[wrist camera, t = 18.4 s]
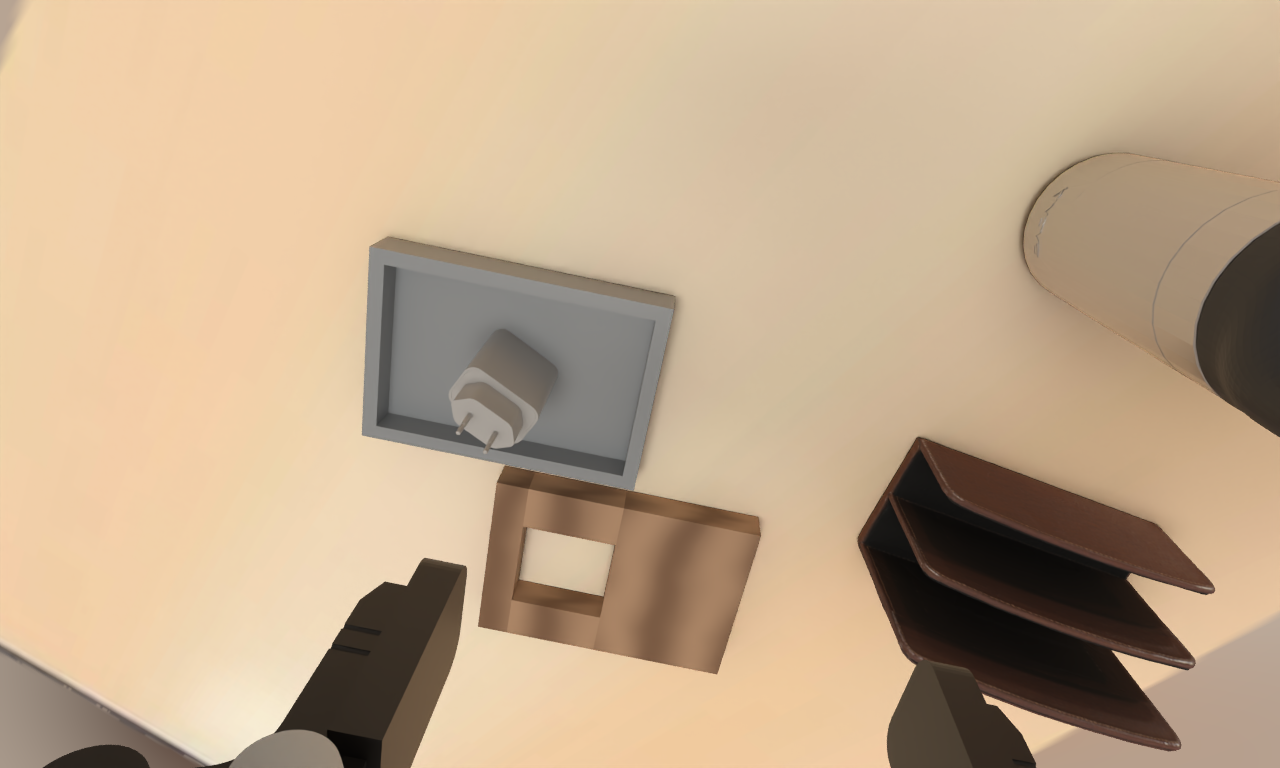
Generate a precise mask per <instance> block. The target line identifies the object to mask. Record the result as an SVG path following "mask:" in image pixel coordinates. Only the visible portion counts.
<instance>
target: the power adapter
mask: <svg viewBox="0 0 1280 768" xmlns="http://www.w3.org/2000/svg"><path fill="white" fill-rule="evenodd" d="M557 375H558V370H557V368H556V367H555V365H553V364H552V363H551V362H550V361H548V360H547V359H546V358H544V357H543V356H542V355H540V354H539V353H538V352H536V351H535V350H534V349H532V348H531V347H530V346H528V345H527V344H526V343H524V342H523V341H522V340H520V339H519V338H518V337H516V336H515V335H514V334H512V333H511V332H510V331H508V330H506V329H498V330H496V331H495V332H494V333H493V334H492V335H491V337H490V338H489V339H488V341H487V342H486V343H485V345H484V346H483V347H482V348H481V350H480V351H479V352H478V354H477V355H476V356H475V358H474V359H473V360H472V362H471V363H470V364H469V365H468V367H467V368H466V369H465V371H464V372H463V373H462V375H461V376H460V377H459V379H458V380H457V381H456V382H455V384H454V385H453V386H452V388H451V389H450V391H449V399H450V401H451V402H452V403H451V406H452V413H453V418H454V421H455V422H456V423H457V424H458V425H459V428H458V430H457V431H456V434H457V435H460V434H461V432H462V431H463V429H465V430H466V431H467V432H469V433H470V434H472V435H473V436H475V437H476V438H477V439H479V440H480V441H482V442H483V443H485V444H486V447H485V448H484V450H483V453H484V454H487V453H488V451H489V449H490V447H491V448H495V449H497V448H505V447H511V446H513V445H514V444H515V443H518V442H520V441H521V440H522V439H523V438H524V437H525V436H526V434H527V433H528V432H529V431H530V430H531V428H532V427H533V426H534V425H535V424H536V422H537V420H538V418H539V416H540V414H541V411H542V409H543V407H544V405H545V402H546V400H547V398H548V396H549V394H550V391H551V389H552V387H553V385H554V382H555V380H556V378H557Z"/></svg>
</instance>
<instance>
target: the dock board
mask: <svg viewBox="0 0 1280 768" xmlns="http://www.w3.org/2000/svg"><path fill="white" fill-rule="evenodd" d="M527 527H528V528H533V529H537V530H542V531H547V532H552V533H557V534H562V535H567V536H572V537H577V538H582V539H587V540H592V541H597V542H602V543H607V544H612V545H615V547H614V552H613V556H612V561H611V565H610V570H609V575H608V579H607V584H606V588H605V593H604V597H601V596H596V595H591V594H586V593H581V592H576V591H571V590H566V589H561V588H556V587H551V586H547V585H542V584H537V583H532V582H527V581H522V580H519V575H520V568H521V562H522V556H523V549H524V543H525V536H526V530H527ZM760 537H761V534H760V527H759V520H758V517H755V516H750V515H745V514H740V513H735V512H730V511H725V510H720V509H715V508H710V507H705V506H701V505H696V504H691V503H686V502H681V501H676V500H671V499H666V498H661V497H656V496H651V495H646V494H641V493H637V492H632V491H627V490H622V489H617V488H612V487H607V486H602V485H597V484H592V483H587V482H582V481H578V480H573V479H568V478H563V477H558V476H553V475H548V474H543V473H538V472H533V471H528V470H523V469H518V468H514V467H509V466H505V467H504V469H503V471H502V473H501V475H500V477H499V479H498V481H497V486H496V493H495V501H494V508H493V516H492V524H491V531H490V539H489V547H488V554H487V562H486V570H485V577H484V585H483V593H482V600H481V608H480V616H479V623H478V627H483V628H488V629H493V630H498V631H503V632H508V633H513V634H518V635H523V636H528V637H533V638H538V639H543V640H548V641H553V642H558V643H563V644H568V645H573V646H578V647H583V648H588V649H593V650H598V651H603V652H608V653H613V654H618V655H623V656H628V657H633V658H638V659H643V660H648V661H653V662H658V663H663V664H668V665H673V666H678V667H683V668H688V669H693V670H698V671H703V672H708V673H713V674H717V673H718V670H719V667H720V664H721V661H722V657H723V654H724V651H725V648H726V645H727V642H728V638H729V635H730V632H731V629H732V626H733V623H734V619H735V616H736V613H737V610H738V607H739V604H740V601H741V597H742V594H743V591H744V588H745V585H746V582H747V578H748V575H749V572H750V569H751V566H752V563H753V560H754V556H755V553H756V550H757V547H758V544H759V541H760Z"/></svg>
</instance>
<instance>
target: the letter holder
mask: <svg viewBox="0 0 1280 768" xmlns="http://www.w3.org/2000/svg"><path fill="white" fill-rule="evenodd" d="M858 546H859V549H860V551H861V553H862V556H863V558H864V560H865V562H866V565H867V568H868V570H869V572H870V575H871V577H872V580H873V582H874V585H875V588H876V590H877V593H878V596H879V598H880V601H881V603H882V605H883V608H884V610H885V612H886V614H887V616H888V618H889V621H890V623H891V626H892V628H893V630H894V633H895V635H896V638H897V640H898V644H899V645H900V648H901V650H902V652H903V654H904V655H905V656H906V657H907V659H909V660H910V661H911V662H912V663H914V664H915V665H917V664H918V663H919V662H920V661H922V660H928V661H933V662H938V663H943V664H948V665H953V666H958V667H963V668H966V669H968V670H969V671H970V672H971V673H972V674H973V676H974V678H975V680H976V682H977V684H978V687H979V689H980V691H981V693H982V694H984V695H987V696H989V697H992V698H994V699H997V700H1000V701H1002V702H1005V703H1008V704H1011V705H1013V706H1016V707H1018V708H1021V709H1024V710H1027V711H1029V712H1032V713H1035V714H1038V715H1041V716H1044V717H1047V718H1050V719H1053V720H1056V721H1060V722H1063V723H1066V724H1069V725H1072V726H1076V727H1079V728H1082V729H1085V730H1089V731H1092V732H1095V733H1099V734H1103V735H1106V736H1109V737H1113V738H1116V739H1120V740H1123V741H1127V742H1130V743H1134V744H1138V745H1143V746H1147V747H1151V748H1156V749H1160V750H1165V751H1176V750H1179V749H1180V748H1181V742H1180V740H1179V738H1178V736H1177V735H1176V733H1175V732H1174V731H1173V729H1172V728H1171V727H1170V726H1169V724H1168V723H1167V722H1166V720H1165V719H1164V718H1163V717H1162V715H1161V714H1160V712H1159V711H1158V710H1157V709H1156V707H1155V706H1154V705H1153V703H1152V702H1151V701H1150V700H1149V698H1148V697H1147V696H1146V695H1145V693H1144V692H1143V691H1142V690H1141V688H1140V687H1139V686H1138V684H1137V683H1136V682H1135V680H1134V679H1133V678H1132V677H1131V675H1130V674H1129V673H1128V671H1127V670H1126V669H1125V667H1124V666H1123V665H1122V664H1121V662H1120V661H1119V660H1118V658H1117V657H1116V656H1115V654H1114V653H1113V652H1112V651H1111V650H1113V651H1117V652H1120V653H1123V654H1127V655H1130V656H1134V657H1138V658H1141V659H1145V660H1148V661H1152V662H1156V663H1160V664H1164V665H1168V666H1172V667H1176V668H1180V669H1184V670H1189V669H1190V668H1193V667H1194V666H1195V659H1194V657H1193V656H1192V655H1191V654H1190V652H1189V651H1188V650H1187V649H1186V648H1185V647H1184V646H1183V644H1182V643H1181V642H1180V641H1179V640H1178V638H1177V637H1176V636H1175V635H1174V634H1173V633H1172V632H1171V631H1170V629H1169V628H1168V627H1167V626H1166V625H1165V624H1164V623H1163V622H1162V621H1161V620H1160V619H1159V617H1158V616H1157V614H1156V613H1155V612H1154V611H1153V610H1152V609H1151V608H1150V607H1149V606H1148V604H1147V603H1146V602H1145V601H1144V599H1143V598H1142V597H1141V596H1140V595H1139V594H1138V593H1137V591H1136V590H1135V589H1134V588H1133V587H1132V585H1131V584H1130V583H1129V582H1128V581H1127V577H1128V576H1129V575H1130V573H1133V574H1136V575H1139V576H1142V577H1145V578H1149V579H1152V580H1155V581H1159V582H1162V583H1166V584H1170V585H1173V586H1177V587H1180V588H1183V589H1186V590H1190V591H1193V592H1197V593H1200V594H1205V595H1207V594H1212V593H1214V592H1215V588H1214V586H1213V584H1212V583H1211V582H1210V580H1209V579H1208V578H1207V577H1206V576H1205V575H1204V574H1203V573H1202V571H1200V570H1199V569H1198V568H1197V567H1196V565H1195V564H1194V563H1193V562H1192V561H1191V560H1190V559H1189V558H1188V557H1187V556H1186V555H1185V554H1184V553H1183V552H1182V551H1181V549H1180V548H1179V547H1178V546H1177V545H1176V544H1175V543H1174V542H1173V541H1172V540H1171V539H1170V538H1169V536H1168V535H1167V534H1166V533H1164V532H1163V531H1162V529H1161V528H1160V527H1158V526H1157V525H1156V524H1154V523H1151V522H1148V521H1145V520H1143V519H1140V518H1138V517H1134V516H1132V515H1130V514H1127V513H1124V512H1122V511H1118V510H1116V509H1113V508H1110V507H1107V506H1104V505H1102V504H1099V503H1097V502H1094V501H1092V500H1089V499H1086V498H1083V497H1080V496H1078V495H1075V494H1072V493H1070V492H1067V491H1064V490H1062V489H1059V488H1056V487H1054V486H1051V485H1048V484H1046V483H1043V482H1040V481H1037V480H1035V479H1032V478H1029V477H1027V476H1024V475H1022V474H1019V473H1016V472H1013V471H1010V470H1008V469H1004V468H1002V467H999V466H997V465H995V464H992V463H988V462H985V461H982V460H980V459H978V458H975V457H972V456H969V455H966V454H964V453H961V452H958V451H955V450H952V449H950V448H947V447H944V446H941V445H939V444H936V443H934V442H931V441H928V440H926V439H922V438H917V439H916V441H915V443H914V444H913V446H912V448H911V449H910V451H909V453H908V454H907V456H906V458H905V459H904V461H903V463H902V464H901V466H900V468H899V469H898V471H897V473H896V474H895V476H894V478H893V479H892V481H891V483H890V484H889V486H888V488H887V489H886V491H885V493H884V494H883V496H882V498H881V499H880V501H879V502H878V504H877V506H876V507H875V509H874V511H873V512H872V514H871V516H870V517H869V519H868V521H867V522H866V524H865V526H864V528H863V529H862V531H861V533H860V535H859V537H858Z"/></svg>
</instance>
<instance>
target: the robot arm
mask: <svg viewBox="0 0 1280 768" xmlns="http://www.w3.org/2000/svg"><path fill="white" fill-rule="evenodd" d="M1023 247H1024V254H1025V260H1026V262H1027V265H1028V267H1029V270H1030V272H1031V274H1032V275H1033V276H1034V278H1035V279H1036V280H1037V281H1038V283H1039V284H1040V285H1042V286H1043V287H1044V288H1045V289H1047V290H1048V291H1049V292H1051V293H1052V294H1054V295H1055V296H1057V297H1059V298H1060V299H1062V300H1064V301H1065V302H1067V303H1068V304H1070V305H1072V306H1073V307H1075V308H1076V309H1077V310H1079V311H1081V312H1082V313H1084V314H1085V315H1087V316H1089V317H1090V318H1092V319H1094V320H1095V321H1097V322H1098V323H1100V324H1102V325H1103V326H1105V327H1107V328H1108V329H1110V330H1111V331H1113V332H1115V333H1116V334H1118V335H1119V336H1121V337H1123V338H1124V339H1126V340H1128V341H1129V342H1131V343H1132V344H1134V345H1136V346H1137V347H1139V348H1141V349H1142V350H1144V351H1145V352H1147V353H1149V354H1150V355H1152V356H1153V357H1155V358H1157V359H1158V360H1160V361H1162V362H1163V363H1165V364H1166V365H1168V366H1170V367H1171V368H1173V369H1175V370H1176V371H1178V372H1179V373H1181V374H1183V375H1184V376H1186V377H1188V378H1189V379H1191V380H1193V381H1195V382H1196V383H1198V384H1199V385H1201V386H1203V387H1204V388H1206V389H1207V390H1209V391H1211V392H1212V393H1214V394H1215V395H1217V396H1219V397H1220V398H1222V399H1223V400H1225V401H1226V402H1228V403H1229V404H1231V405H1232V406H1234V407H1236V408H1237V409H1239V410H1240V411H1242V412H1244V413H1245V414H1246V415H1247V416H1249V417H1250V418H1251V419H1253V420H1254V421H1255V422H1257V423H1258V424H1260V425H1261V426H1263V427H1264V428H1266V429H1268V430H1269V431H1271V432H1272V433H1274V434H1275V435H1277V436H1278V437H1280V182H1276V181H1271V180H1265V179H1260V178H1255V177H1250V176H1244V175H1239V174H1234V173H1229V172H1223V171H1218V170H1213V169H1208V168H1202V167H1197V166H1192V165H1187V164H1181V163H1177V162H1172V161H1167V160H1162V159H1156V158H1151V157H1145V156H1140V155H1135V154H1129V153H1110V154H1105V155H1101V156H1096V157H1092V158H1090V159H1088V160H1085V161H1083V162H1080V163H1078V164H1076V165H1074V166H1073V167H1071V168H1070V169H1068V170H1066V171H1065V172H1063V173H1062V174H1061V175H1059V176H1058V177H1057V178H1056V179H1055V180H1054V181H1053V182H1052V183H1051V184H1049V185H1048V187H1047V188H1046V189H1045V190H1044V192H1043V193H1042V194H1041V195H1040V197H1039V198H1038V199H1037V201H1036V203H1035V205H1034V207H1033V209H1032V210H1031V212H1030V214H1029V217H1028V221H1027V224H1026V227H1025V231H1024V243H1023ZM466 577H467V567H466V566H463V565H458V564H453V563H448V562H443V561H438V560H433V559H428V558H424V559H422V561H421V562H420V564H419V565H418V567H417V569H416V571H415V573H414V574H413V576H412V578H411V580H410V582H409V583H408V585H407V586H404V585H399V584H394V583H389V582H384V583H383V584H381V585H380V586H378V587H377V588H376V589H374V590H373V591H371V592H370V593H369V594H367V595H366V596H365V597H363V598H362V599H360V600H359V602H358V604H357V605H356V607H355V608H354V610H353V612H352V613H351V615H350V616H349V618H348V619H347V621H346V623H345V626H344V628H343V629H341V631H340V632H339V634H338V635H337V637H336V638H335V640H334V642H333V643H332V647H331V649H329V650H328V651H327V653H326V654H325V656H324V657H323V659H322V661H321V662H320V664H319V665H318V667H317V669H316V670H315V672H314V673H313V675H312V676H311V678H310V680H309V681H308V683H307V684H306V686H305V688H304V689H303V691H302V692H301V694H300V695H299V697H298V699H297V700H296V702H295V703H294V705H293V707H292V708H291V710H290V711H289V713H288V714H287V716H286V718H285V719H284V721H283V722H282V724H281V725H280V726H279V728H278V729H277V731H276V732H275V733H274V734H271V735H269V736H266V737H264V738H262V739H260V740H258V741H256V742H254V743H253V744H251V745H250V746H249V747H247V748H246V749H245V750H244V751H242V752H241V753H240V754H239V755H238V756H237V757H236V758H235V759H234V760H231V761H229V762H225V763H221V764H218V765H212V766H206V767H197V768H410V767H411V765H412V763H413V760H414V758H415V755H416V753H417V750H418V748H419V745H420V743H421V740H422V738H423V736H424V733H425V731H426V728H427V726H428V723H429V721H430V718H431V716H432V713H433V711H434V709H435V706H436V704H437V701H438V699H439V696H440V694H441V691H442V689H443V686H444V684H445V681H446V679H447V677H448V674H449V672H450V669H451V666H452V663H453V660H454V657H455V653H456V649H457V645H458V641H459V635H460V628H461V619H462V611H463V602H464V594H465V585H466ZM887 752H888V758H889V763H890V766H891V768H1036V762H1035V760H1034V758H1033V756H1032V754H1031V752H1030V750H1029V748H1028V746H1027V744H1026V742H1025V740H1024V738H1023V736H1022V734H1021V733H1020V732H1019V731H1018V729H1017V728H1016V727H1015V726H1014V725H1013V724H1012V723H1011V721H1010V720H1009V719H1008V718H1007V717H1006V716H1005V715H1004V713H1003V712H1002V711H1001V710H1000V709H999V708H998V707H997V706H994V705H989V704H986V702H985V700H984V697H983V695H982V693H981V691H980V689H979V687H978V684H977V682H976V680H975V678H974V676H973V674H972V673H971V672H970V671H969V670H968V669H966V668H963V667H958V666H953V665H948V664H943V663H938V662H933V661H928V660H922V661H920V662H919V663H918V664H917V665H916V667H915V669H914V671H913V673H912V675H911V678H910V680H909V682H908V684H907V686H906V688H905V691H904V693H903V695H902V697H901V699H900V701H899V703H898V706H897V708H896V710H895V712H894V714H893V716H892V719H891V721H890V724H889V728H888V735H887ZM43 768H150V767H149V765H148V762H147V761H146V759H145V758H144V757H143V756H142V755H141V754H140V753H138V752H137V751H136V750H133V749H131V748H129V747H125V746H120V745H99V746H93V747H88V748H84V749H81V750H77V751H74V752H72V753H69V754H67V755H64V756H62V757H60V758H58V759H56V760H54V761H53V762H51V763H49V764H48V765H46V766H45V767H43Z"/></svg>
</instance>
